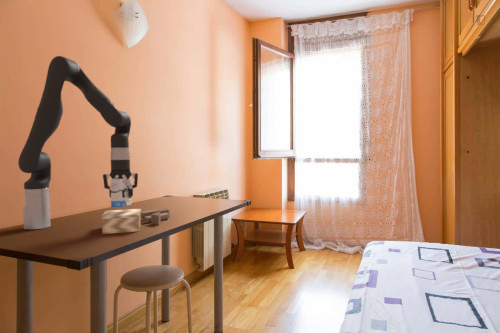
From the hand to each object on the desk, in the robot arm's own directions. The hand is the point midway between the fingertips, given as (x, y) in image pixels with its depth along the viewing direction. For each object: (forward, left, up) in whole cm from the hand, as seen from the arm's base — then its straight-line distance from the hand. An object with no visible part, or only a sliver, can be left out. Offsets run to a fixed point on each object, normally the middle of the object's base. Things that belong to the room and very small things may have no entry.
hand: (121, 198), depth 144 cm
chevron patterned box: (0, 0, -13) cm, 13 cm away
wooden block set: (+16, +13, -14) cm, 25 cm away
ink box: (0, 0, -3) cm, 3 cm away
